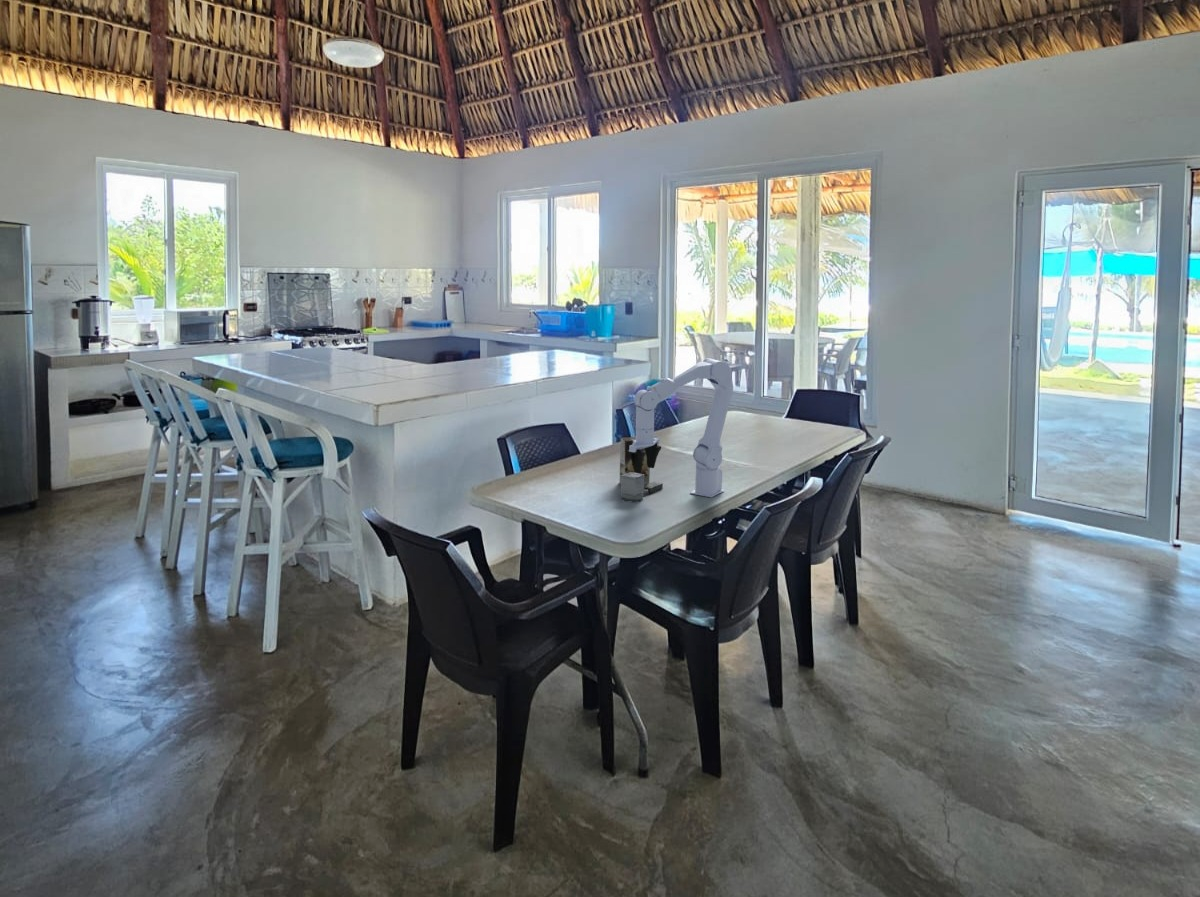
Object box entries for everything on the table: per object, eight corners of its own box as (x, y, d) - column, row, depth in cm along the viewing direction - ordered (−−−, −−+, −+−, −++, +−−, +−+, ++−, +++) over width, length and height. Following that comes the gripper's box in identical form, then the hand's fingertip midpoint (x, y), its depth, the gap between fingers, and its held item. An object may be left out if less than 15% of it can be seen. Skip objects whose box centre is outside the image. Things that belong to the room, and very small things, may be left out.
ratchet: (649, 486, 266) (649, 473, 265) (667, 489, 262) (667, 476, 261) (616, 499, 250) (617, 486, 249) (635, 503, 246) (635, 489, 245)
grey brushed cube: (630, 489, 254) (630, 471, 253) (644, 492, 251) (644, 474, 250) (620, 493, 250) (620, 475, 249) (634, 496, 247) (635, 477, 246)
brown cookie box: (624, 487, 264) (625, 441, 260) (619, 482, 270) (619, 437, 266) (650, 485, 266) (651, 439, 263) (644, 480, 272) (645, 435, 269)
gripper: (646, 423, 254) (646, 463, 257) (621, 430, 242) (621, 472, 246) (665, 425, 250) (664, 466, 253) (640, 433, 238) (639, 476, 241)
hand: (644, 470), depth 249 cm, fingers open, 7 cm apart
